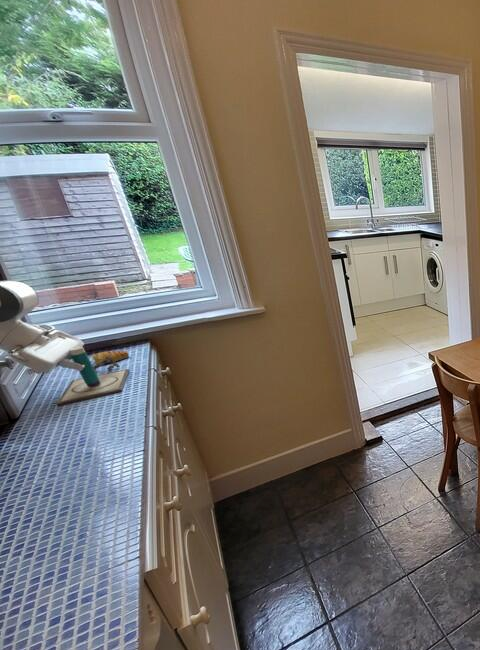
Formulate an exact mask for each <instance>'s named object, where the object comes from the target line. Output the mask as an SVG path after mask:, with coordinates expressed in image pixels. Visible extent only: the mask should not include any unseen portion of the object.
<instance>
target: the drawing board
mask: <svg viewBox="0 0 480 650" xmlns="http://www.w3.org/2000/svg"><path fill="white" fill-rule="evenodd" d="M129 373H130V368H125V369H121V370H115V371H111V372H105V373H102V374H97V376H98V378H99V381H100V384H99V385H96V386H93V387H88V386H87V384H86V383H85V382H84V380H83V378H82V377H81V378H78V379H73V380H71V381H70V383H69V384H68V386H67V387H66V389H65V390H64V391H63V393H62V395H61V396H60V398H59V400H58V401H57V403H56V406H57V407H61V406H65V405H69V404H73V403H79V402H82V401H88V400H92V399H96V398H100V397H105V396H110V395H113V394H119V393H121V392H123V390H124V387H125V384H126V382H127V379H128V376H129Z"/></svg>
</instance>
